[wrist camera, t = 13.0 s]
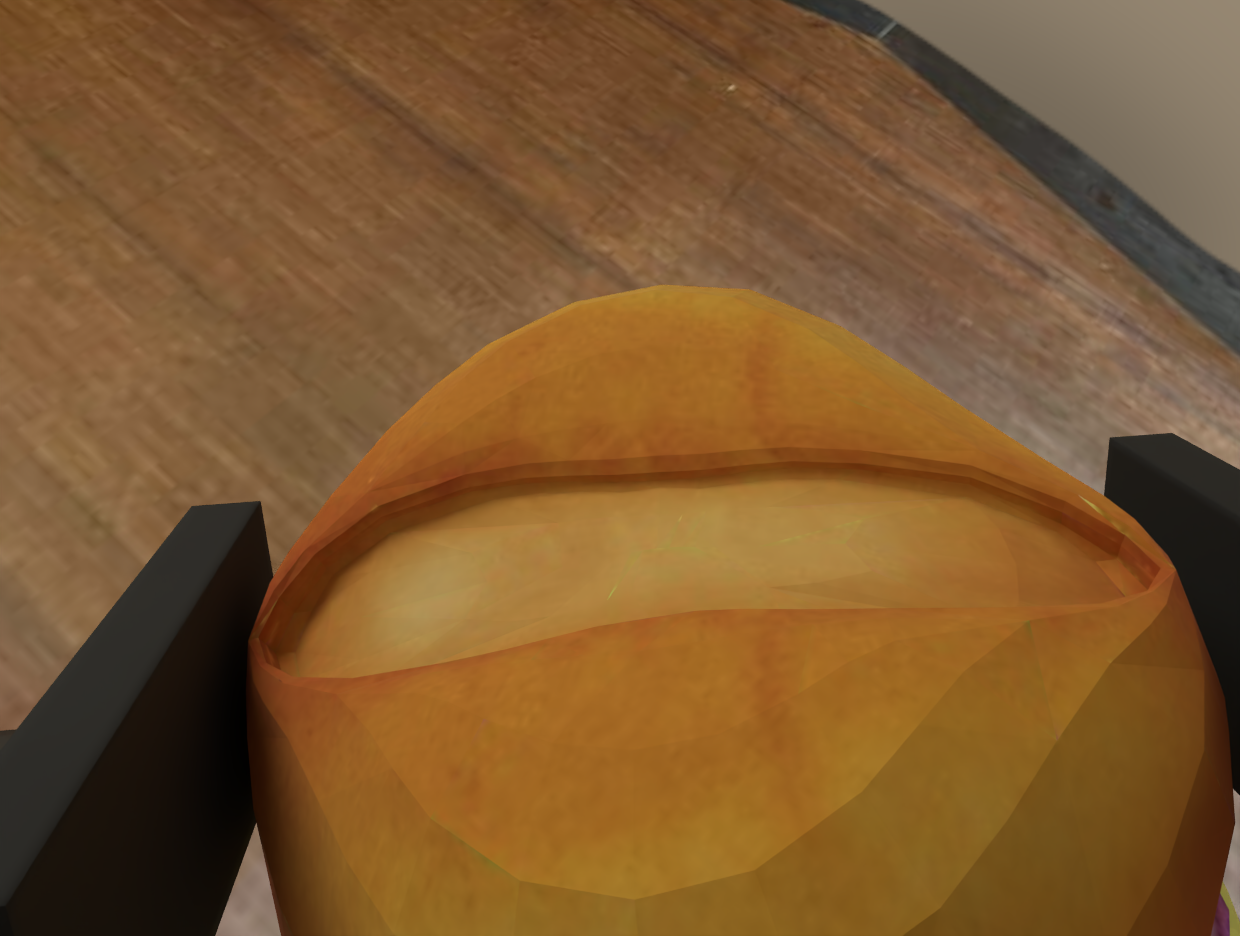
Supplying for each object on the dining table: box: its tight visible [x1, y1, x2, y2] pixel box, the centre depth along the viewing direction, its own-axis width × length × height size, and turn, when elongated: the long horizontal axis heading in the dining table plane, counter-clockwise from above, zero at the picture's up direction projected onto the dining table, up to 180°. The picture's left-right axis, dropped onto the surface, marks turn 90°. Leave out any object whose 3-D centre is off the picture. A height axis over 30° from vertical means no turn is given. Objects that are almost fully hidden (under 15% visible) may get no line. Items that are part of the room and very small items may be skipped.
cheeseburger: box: [246, 285, 1240, 936], centre depth 12 cm, size 10×11×10 cm
